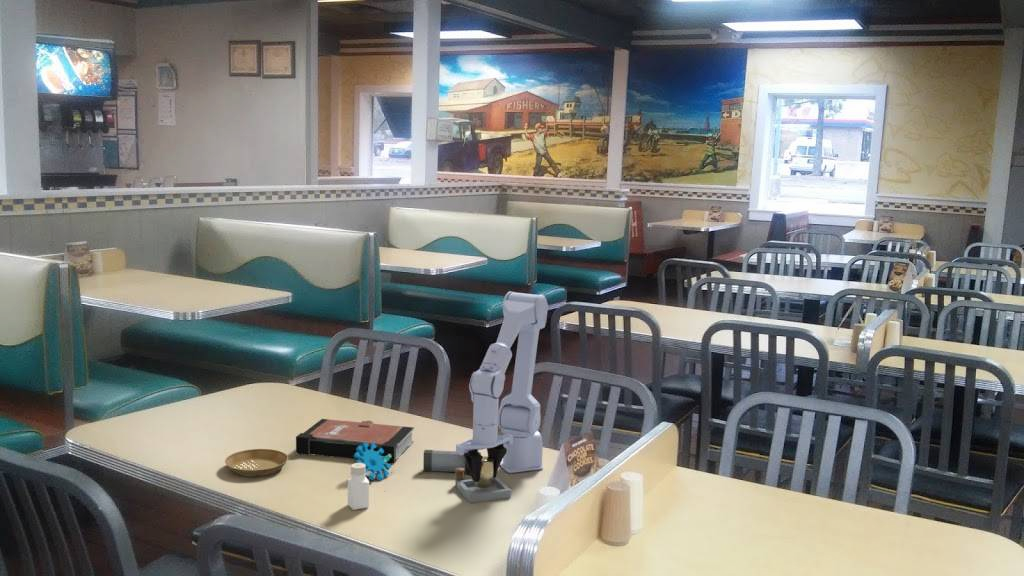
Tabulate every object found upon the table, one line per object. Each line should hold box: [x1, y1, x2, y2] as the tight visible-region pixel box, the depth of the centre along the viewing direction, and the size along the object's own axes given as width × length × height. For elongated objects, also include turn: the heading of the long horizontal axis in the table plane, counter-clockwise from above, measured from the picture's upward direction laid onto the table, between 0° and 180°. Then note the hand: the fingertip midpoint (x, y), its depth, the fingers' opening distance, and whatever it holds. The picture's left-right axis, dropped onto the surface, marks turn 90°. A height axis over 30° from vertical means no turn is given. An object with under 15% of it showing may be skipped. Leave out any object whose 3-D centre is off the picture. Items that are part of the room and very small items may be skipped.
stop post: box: [454, 468, 465, 488], centre depth 207 cm, size 2×2×4 cm
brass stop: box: [474, 455, 494, 488], centre depth 203 cm, size 4×4×6 cm
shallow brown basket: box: [224, 448, 289, 478], centre depth 214 cm, size 15×15×3 cm
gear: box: [354, 443, 392, 481], centre depth 212 cm, size 11×6×10 cm
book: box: [295, 418, 415, 464], centre depth 230 cm, size 26×18×5 cm
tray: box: [456, 475, 512, 504], centre depth 203 cm, size 10×9×2 cm
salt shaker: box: [347, 462, 370, 511], centre depth 193 cm, size 4×4×10 cm
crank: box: [422, 449, 482, 475], centre depth 216 cm, size 14×4×5 cm, turn 88°
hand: (483, 478), depth 203 cm, fingers closed on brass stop, 4 cm apart
